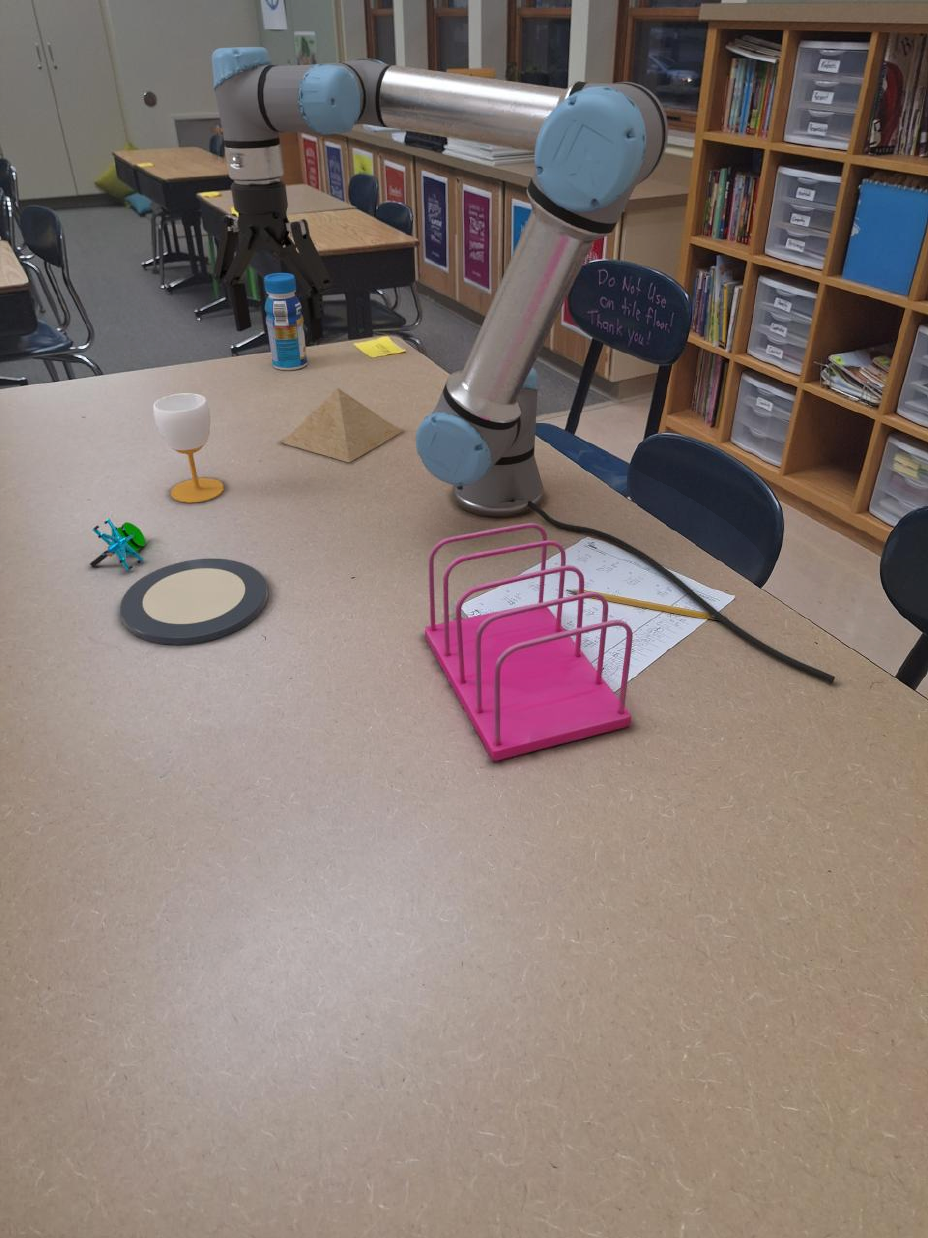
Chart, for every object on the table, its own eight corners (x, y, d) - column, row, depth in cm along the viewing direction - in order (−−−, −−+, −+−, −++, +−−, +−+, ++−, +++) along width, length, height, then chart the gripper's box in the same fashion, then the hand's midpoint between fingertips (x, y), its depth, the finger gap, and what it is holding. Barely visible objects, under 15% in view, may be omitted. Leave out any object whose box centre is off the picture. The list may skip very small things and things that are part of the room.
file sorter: (492, 764, 96) (495, 652, 86) (424, 637, 115) (420, 535, 106) (631, 727, 100) (647, 617, 91) (543, 611, 119) (549, 511, 110)
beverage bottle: (264, 365, 201) (252, 276, 190) (292, 356, 207) (281, 269, 195) (288, 374, 197) (276, 283, 185) (315, 364, 202) (306, 275, 191)
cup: (159, 497, 148) (138, 408, 138) (192, 475, 154) (174, 389, 145) (203, 506, 145) (185, 416, 136) (234, 484, 152) (219, 396, 142)
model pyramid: (404, 430, 170) (402, 381, 165) (349, 462, 159) (344, 411, 153) (338, 413, 178) (334, 366, 172) (281, 443, 166) (274, 393, 160)
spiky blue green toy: (133, 566, 125) (96, 523, 123) (98, 593, 126) (61, 551, 125) (162, 546, 136) (129, 506, 134) (130, 570, 138) (96, 532, 136)
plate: (296, 586, 125) (295, 579, 124) (199, 662, 111) (198, 654, 110) (193, 552, 133) (191, 545, 132) (90, 618, 119) (88, 611, 118)
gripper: (170, 179, 122) (200, 331, 134) (315, 189, 112) (333, 351, 124) (205, 171, 127) (231, 318, 139) (347, 180, 118) (361, 336, 130)
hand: (279, 334), depth 132 cm, fingers open, 13 cm apart
